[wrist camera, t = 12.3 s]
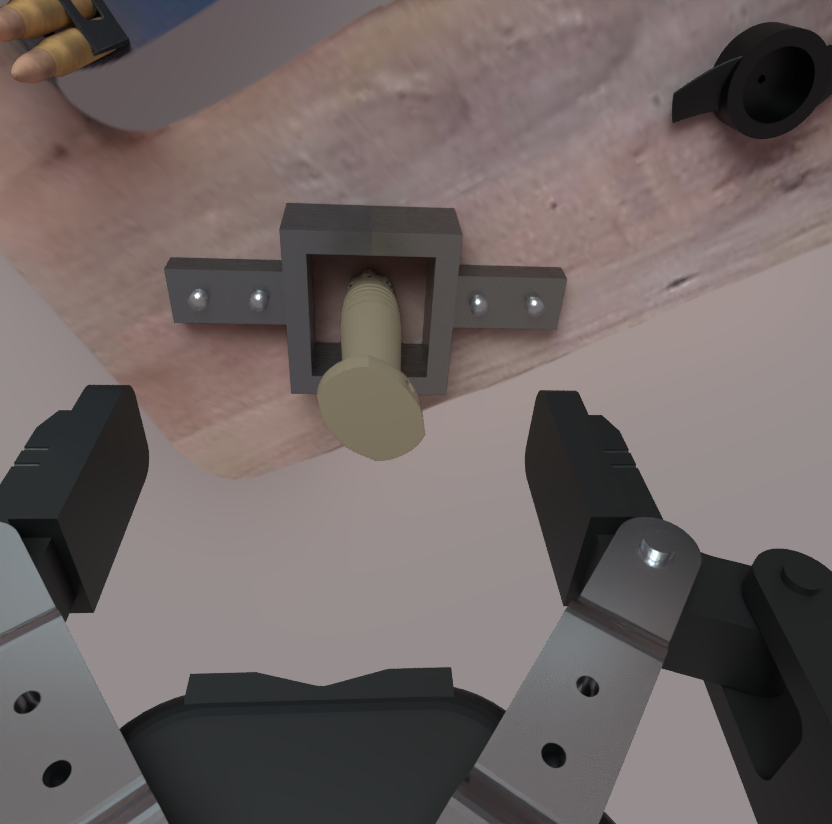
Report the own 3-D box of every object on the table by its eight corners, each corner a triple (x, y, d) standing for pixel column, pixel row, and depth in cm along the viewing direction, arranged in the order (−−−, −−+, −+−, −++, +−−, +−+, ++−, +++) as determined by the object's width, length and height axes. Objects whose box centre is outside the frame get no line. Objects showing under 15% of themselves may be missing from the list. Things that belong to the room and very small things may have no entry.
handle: (372, 234, 44) (375, 351, 32) (422, 304, 48) (442, 434, 36) (315, 271, 46) (297, 397, 34) (368, 337, 49) (369, 472, 37)
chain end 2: (369, 360, 50) (369, 394, 47) (371, 205, 43) (372, 232, 40) (541, 362, 51) (554, 395, 48) (571, 212, 44) (590, 238, 41)
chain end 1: (188, 357, 49) (174, 392, 46) (160, 198, 42) (141, 225, 38) (369, 360, 50) (369, 394, 47) (371, 205, 43) (372, 232, 40)
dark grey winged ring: (780, 163, 43) (804, 177, 41) (651, 113, 41) (668, 124, 39) (862, 37, 39) (894, 45, 37) (723, -28, 37) (747, -24, 34)
